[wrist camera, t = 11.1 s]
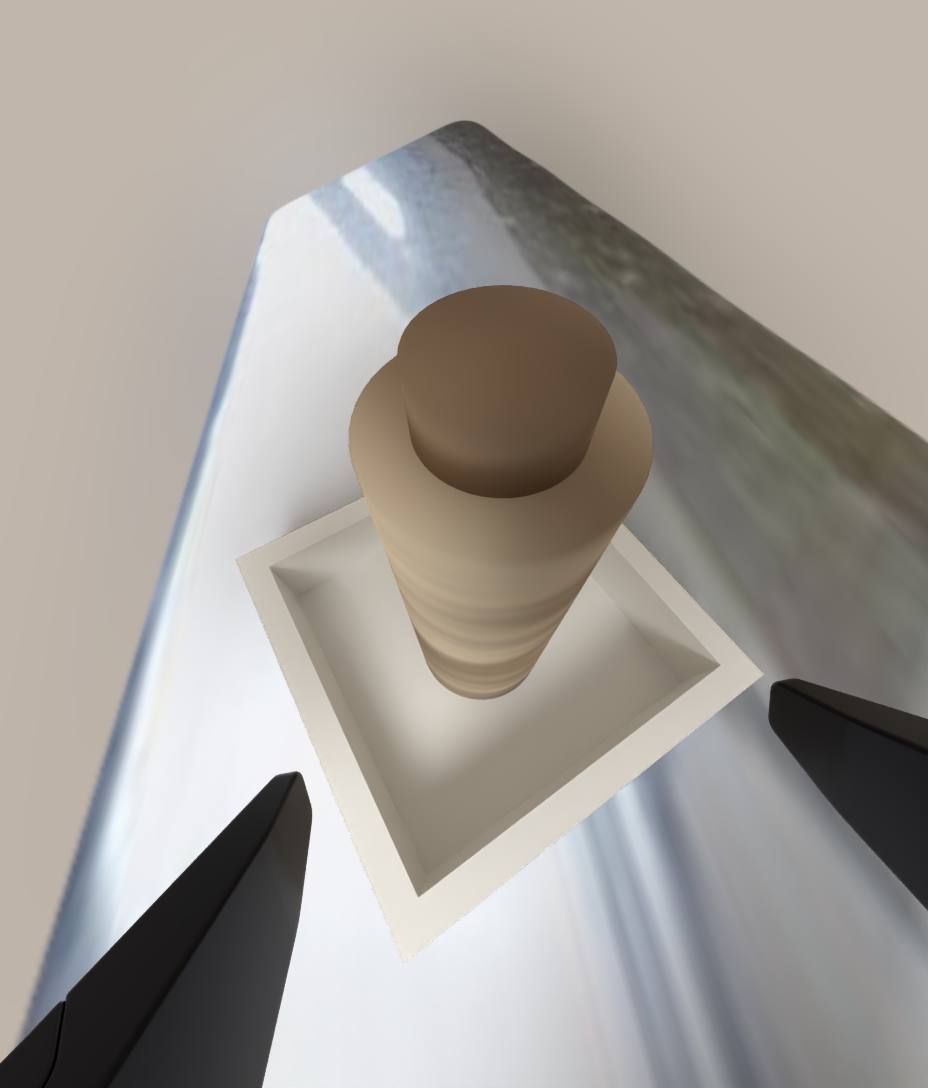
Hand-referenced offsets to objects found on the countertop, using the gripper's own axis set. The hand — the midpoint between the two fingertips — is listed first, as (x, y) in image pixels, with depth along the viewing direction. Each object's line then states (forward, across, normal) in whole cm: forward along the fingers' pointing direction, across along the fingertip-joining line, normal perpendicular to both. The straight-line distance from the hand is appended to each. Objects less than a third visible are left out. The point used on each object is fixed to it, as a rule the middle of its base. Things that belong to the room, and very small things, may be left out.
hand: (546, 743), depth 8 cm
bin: (+11, 0, +4) cm, 11 cm away
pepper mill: (+10, 0, +3) cm, 11 cm away
